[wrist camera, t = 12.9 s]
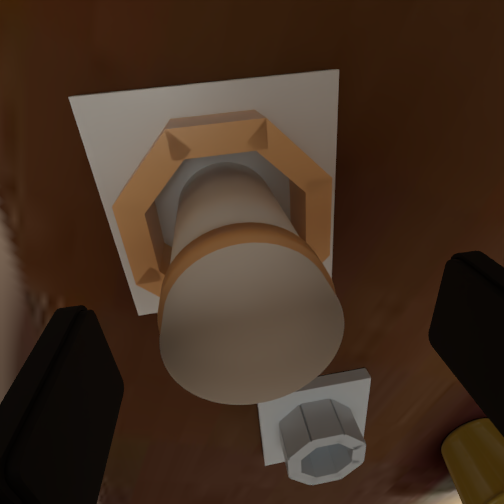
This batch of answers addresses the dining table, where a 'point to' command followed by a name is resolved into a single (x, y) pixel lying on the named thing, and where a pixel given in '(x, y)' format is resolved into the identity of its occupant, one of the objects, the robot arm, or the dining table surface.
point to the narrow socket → (318, 427)
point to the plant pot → (476, 462)
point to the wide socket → (209, 158)
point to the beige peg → (243, 294)
